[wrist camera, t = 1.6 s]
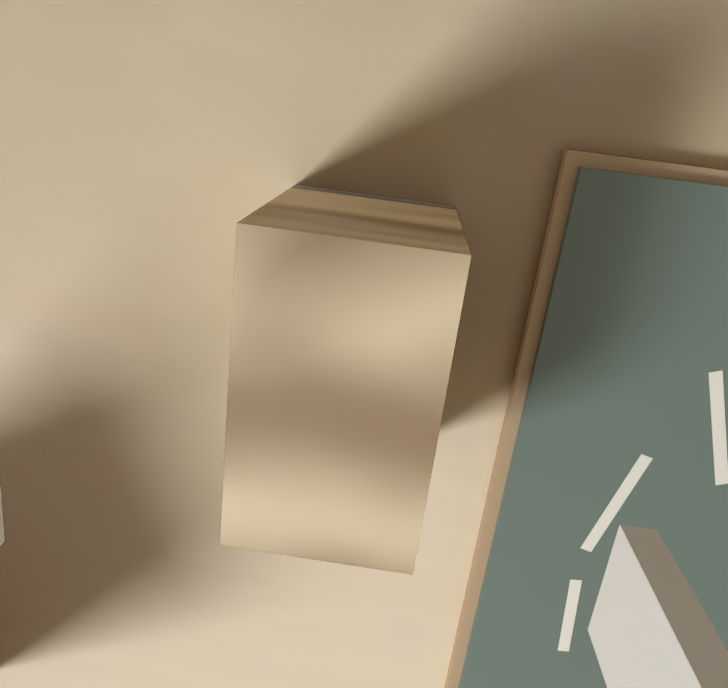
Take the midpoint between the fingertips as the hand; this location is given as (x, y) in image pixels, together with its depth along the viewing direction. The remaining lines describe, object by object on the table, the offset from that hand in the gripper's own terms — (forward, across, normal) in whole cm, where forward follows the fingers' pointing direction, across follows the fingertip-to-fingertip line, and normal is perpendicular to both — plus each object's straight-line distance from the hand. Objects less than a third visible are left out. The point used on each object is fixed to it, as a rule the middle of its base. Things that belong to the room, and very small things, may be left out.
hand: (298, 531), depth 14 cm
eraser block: (+13, 0, 0) cm, 13 cm away
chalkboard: (+13, +13, -6) cm, 20 cm away
